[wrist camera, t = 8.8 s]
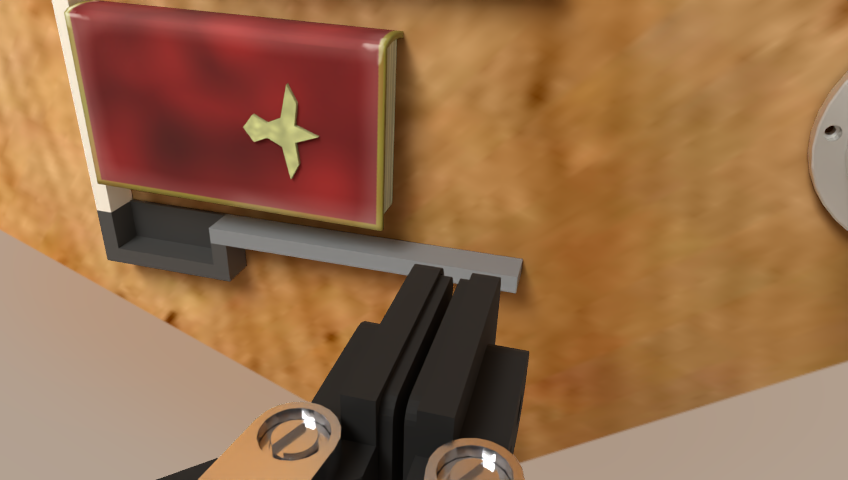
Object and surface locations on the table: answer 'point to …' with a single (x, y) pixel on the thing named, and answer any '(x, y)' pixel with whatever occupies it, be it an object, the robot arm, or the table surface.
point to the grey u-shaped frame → (249, 229)
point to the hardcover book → (239, 109)
